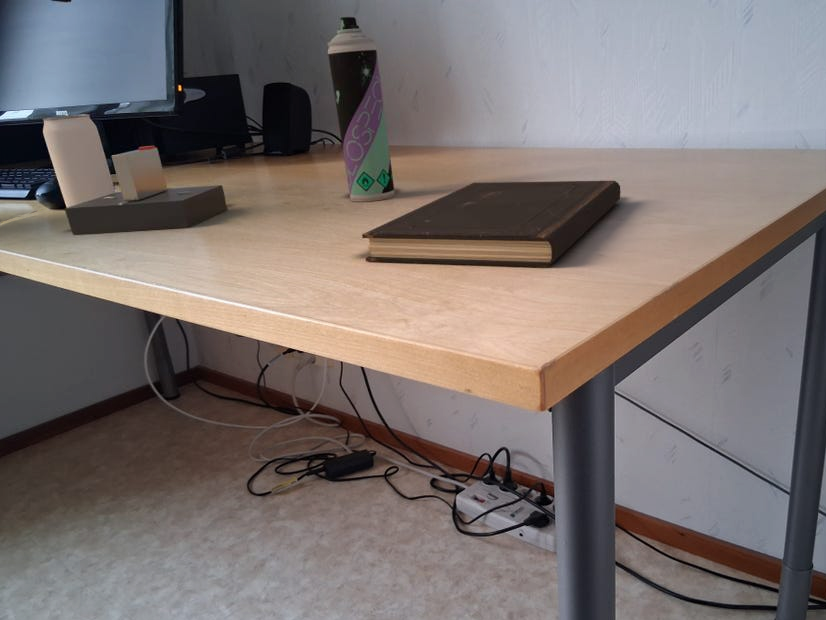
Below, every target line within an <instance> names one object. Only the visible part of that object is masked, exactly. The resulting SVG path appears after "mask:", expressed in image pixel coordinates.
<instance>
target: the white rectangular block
mask: <svg viewBox="0 0 826 620" xmlns="http://www.w3.org/2000/svg"><path fill="white" fill-rule="evenodd" d="M111 159H112V163H113V166H114V170H115V174H116V177H117V181H118V184H119V189H120V192H122V196H123V199H124V201H136V200H141V199H144V198H147V197H150V196H152V195H155V194H158V193H161V192H164V191H167V190H168V189H167V187H168V185H167V182H166V178H165V174H164V169H163V165H162V161H161V158H160V154H159V150H158V147H156V146H155V145H147V146H145V145H144V146H139V147H138V149H135V150H130V151H126V152H122V153H118V154H113V155H111Z"/></svg>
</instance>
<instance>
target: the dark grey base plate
mask: <svg viewBox="0 0 826 620" xmlns="http://www.w3.org/2000/svg"><path fill="white" fill-rule="evenodd" d="M167 189H168V190H167V191H164V192H161V193H158V194H155V195H152V196H150V197H147V198H144V199H141V200H136V201H124V199H123V196H122V192H121V191H115V193H113V194H109V195H106V196H103V197H100V198H96V199H93V200H90V201H87V202H83V203H80V204H77V205H74V206H70V207H65V208H64V210H65V215H66V218H67V220H68V224H69V227H70V231H71V233H72V235H73V236H74V235H90V234H91V235H92V234H106V233H122V232H123V233H126V232H138V231H139V232H140V231H141V232H142V231H157V230H174V229H188V228H191V227H193V226H196V225H198V224H200V223H203V222H204V221H206V220H208V219H210V218H213V217H215V216H217V215H219V214H221V213H223V212H226V211H227V210H228V206H227V205H228V204H227V201H226V196H225V192H224V187H223V185H222V184H218V185H205V186H204V185H203V186H189V187H187V186H186V187H173V188H172V186H167Z"/></svg>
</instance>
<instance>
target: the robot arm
mask: <svg viewBox="0 0 826 620" xmlns="http://www.w3.org/2000/svg"><path fill="white" fill-rule="evenodd" d="M50 1H52V2H58V3H71V2H72V0H50Z"/></svg>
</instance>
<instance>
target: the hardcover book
mask: <svg viewBox="0 0 826 620" xmlns="http://www.w3.org/2000/svg"><path fill="white" fill-rule="evenodd" d="M620 199H621V186H620V183H619V182H618V181H616V180H564V181H563V180H562V181H561V180H559V181H556V180H555V181H501V182H500V181H498V182H497V181H496V182H495V181H493V182H472V183H470V184H468V185H466V186H465V185H464V186H463V187H461V188H459V189H456V190H455V191H452V192H451V193H448V194H446V195H444V196H442V197H439V198H438V199H435V200H433V201H431V202H428V203H427V204H424V205H422V206H420V207H418V208H416V209H414V210H412V211H409V212H407V213H405V214H403V215H401V216H398V217H397V218H395V219H392V220H390V221H388V222H386V223H383V224H381V225H379V226H377V227H375V228H372V229H370V230H368V231H366V232H364V233H362V234H361V236H362V239H368V243H369V244H368V250H369V251H370V255H369V256H366V257H365V262H368V263H370V262H371V263H395V264H396V263H398V264H399V263H400V264H401V263H402V264H427V265H429V264H431V265H461V266H491V267H516V268H517V267H519V268H548V267H550V266H551V265H552V264H553V263H554V262H555V261H557V260H558V259H559V258H560V257H561V256H562V255H563V253H565V252H566V251H567V250H568V249H569V248H570V247H571V246H573V244H574V243H576V242H577V241H578V240H579V239H580V238H581V237H582V236H583V235H585V233H586V232H587V231H588V230H589V229H590V228H592V226H594V224H596V223H597V222H598V221H599V220H600V219H601V218H602V217H604V215H605V214H606V213H608V212H609V210H611V209H612V208H613V206H615V205H616V204H617V203H618V202H619V201H620Z"/></svg>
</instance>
